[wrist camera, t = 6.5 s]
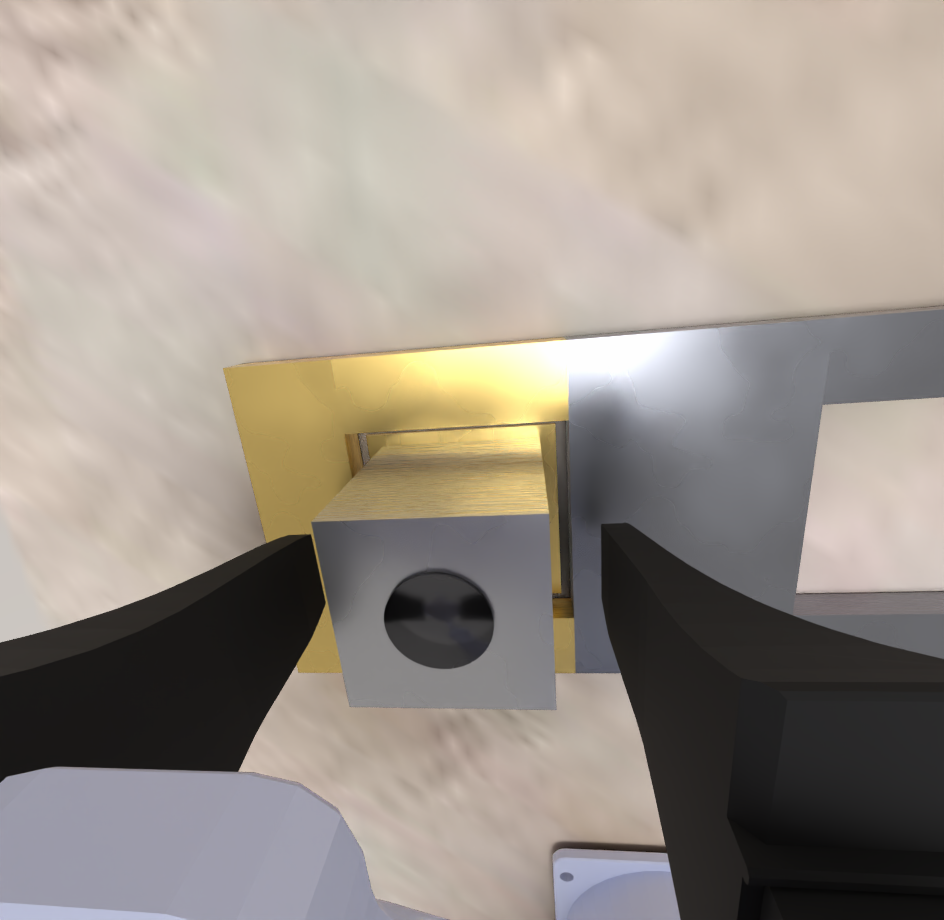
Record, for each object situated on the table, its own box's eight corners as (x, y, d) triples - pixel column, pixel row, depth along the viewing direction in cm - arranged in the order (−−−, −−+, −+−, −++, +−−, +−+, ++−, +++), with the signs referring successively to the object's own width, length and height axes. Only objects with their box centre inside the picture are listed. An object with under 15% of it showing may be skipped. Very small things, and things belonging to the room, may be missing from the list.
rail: (1099, 648, 14) (1142, 673, 13) (311, 651, 17) (298, 672, 16) (1242, 280, 11) (1312, 278, 10) (243, 363, 14) (222, 368, 13)
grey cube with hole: (545, 578, 15) (556, 714, 10) (403, 580, 15) (347, 711, 10) (539, 437, 13) (549, 516, 8) (383, 446, 14) (308, 524, 9)
